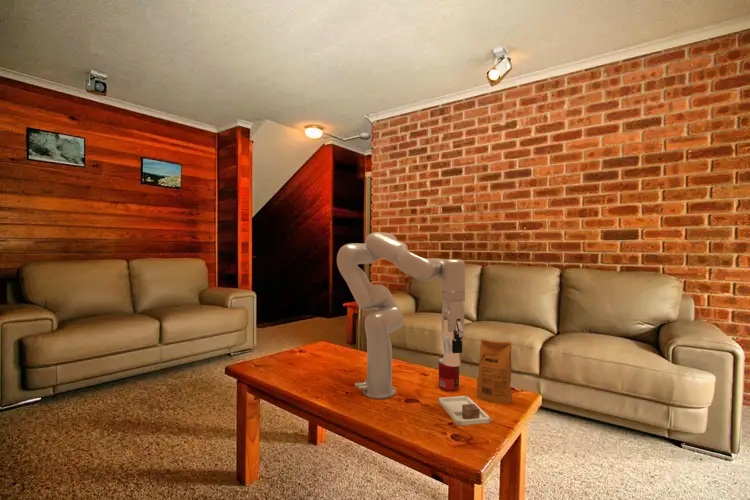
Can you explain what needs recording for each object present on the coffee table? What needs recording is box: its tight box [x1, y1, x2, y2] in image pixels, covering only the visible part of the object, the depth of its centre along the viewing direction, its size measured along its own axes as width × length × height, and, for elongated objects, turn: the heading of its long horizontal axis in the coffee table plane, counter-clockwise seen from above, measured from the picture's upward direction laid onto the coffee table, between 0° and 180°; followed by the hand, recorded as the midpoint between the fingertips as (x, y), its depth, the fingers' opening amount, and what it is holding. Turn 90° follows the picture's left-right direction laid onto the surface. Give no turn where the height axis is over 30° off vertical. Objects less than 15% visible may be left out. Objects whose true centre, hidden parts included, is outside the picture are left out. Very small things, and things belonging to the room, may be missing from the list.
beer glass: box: [441, 317, 462, 367], centre depth 121 cm, size 7×7×15 cm
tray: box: [437, 395, 492, 426], centre depth 121 cm, size 11×18×2 cm, turn 10°
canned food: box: [438, 357, 460, 392], centre depth 144 cm, size 8×8×11 cm
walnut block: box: [462, 403, 480, 419], centre depth 115 cm, size 4×4×4 cm
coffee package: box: [476, 338, 513, 405], centre depth 132 cm, size 10×12×22 cm
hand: (453, 349), depth 121 cm, fingers closed on beer glass, 6 cm apart
